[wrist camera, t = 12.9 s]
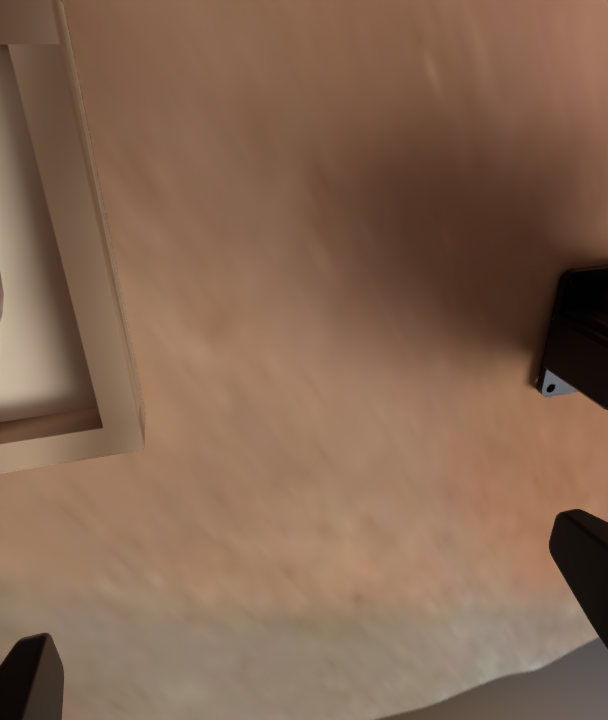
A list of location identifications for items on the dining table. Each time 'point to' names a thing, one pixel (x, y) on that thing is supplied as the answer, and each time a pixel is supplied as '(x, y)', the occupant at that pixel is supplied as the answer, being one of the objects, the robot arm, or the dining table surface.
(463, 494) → the dining table surface
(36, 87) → the birch tray
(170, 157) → the dining table surface
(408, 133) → the dining table surface
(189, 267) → the dining table surface
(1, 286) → the soda can
